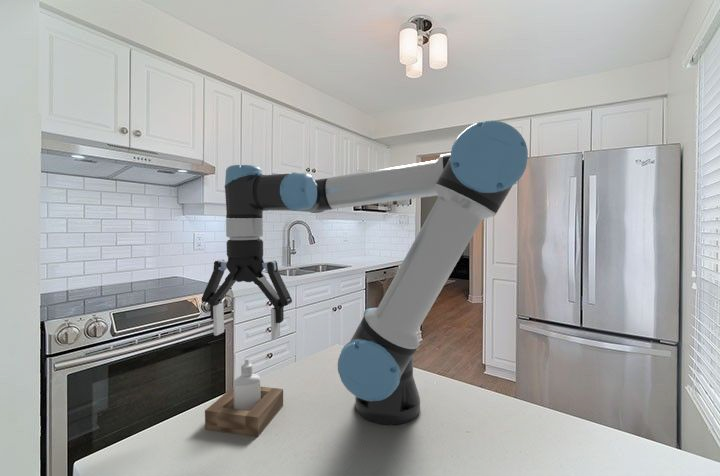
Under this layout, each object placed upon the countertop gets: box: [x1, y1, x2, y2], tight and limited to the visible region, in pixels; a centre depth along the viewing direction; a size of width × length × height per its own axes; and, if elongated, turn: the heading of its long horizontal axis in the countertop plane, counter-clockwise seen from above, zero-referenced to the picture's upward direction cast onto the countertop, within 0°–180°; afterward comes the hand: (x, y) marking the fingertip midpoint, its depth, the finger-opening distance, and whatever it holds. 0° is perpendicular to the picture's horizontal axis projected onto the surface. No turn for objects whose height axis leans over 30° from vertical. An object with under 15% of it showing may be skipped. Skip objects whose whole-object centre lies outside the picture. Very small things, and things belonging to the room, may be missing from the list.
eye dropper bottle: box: [233, 358, 261, 411], centre depth 76 cm, size 4×6×12 cm
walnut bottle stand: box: [204, 386, 284, 437], centre depth 76 cm, size 12×12×4 cm
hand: (246, 335), depth 75 cm, fingers open, 13 cm apart
